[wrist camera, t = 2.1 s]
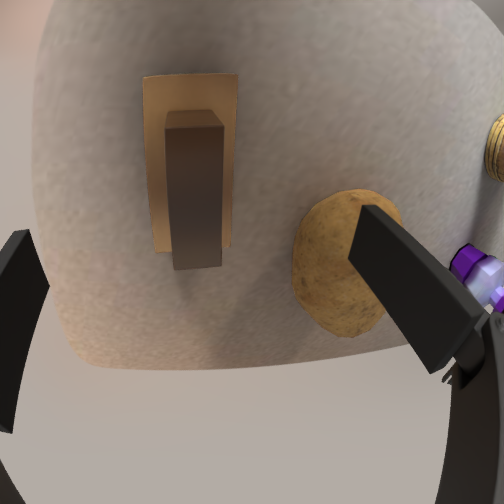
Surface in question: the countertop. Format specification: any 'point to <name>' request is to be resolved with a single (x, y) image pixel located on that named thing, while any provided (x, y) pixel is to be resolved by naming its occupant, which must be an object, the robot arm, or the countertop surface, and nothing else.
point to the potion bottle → (480, 276)
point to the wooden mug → (496, 151)
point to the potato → (336, 264)
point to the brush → (190, 164)
